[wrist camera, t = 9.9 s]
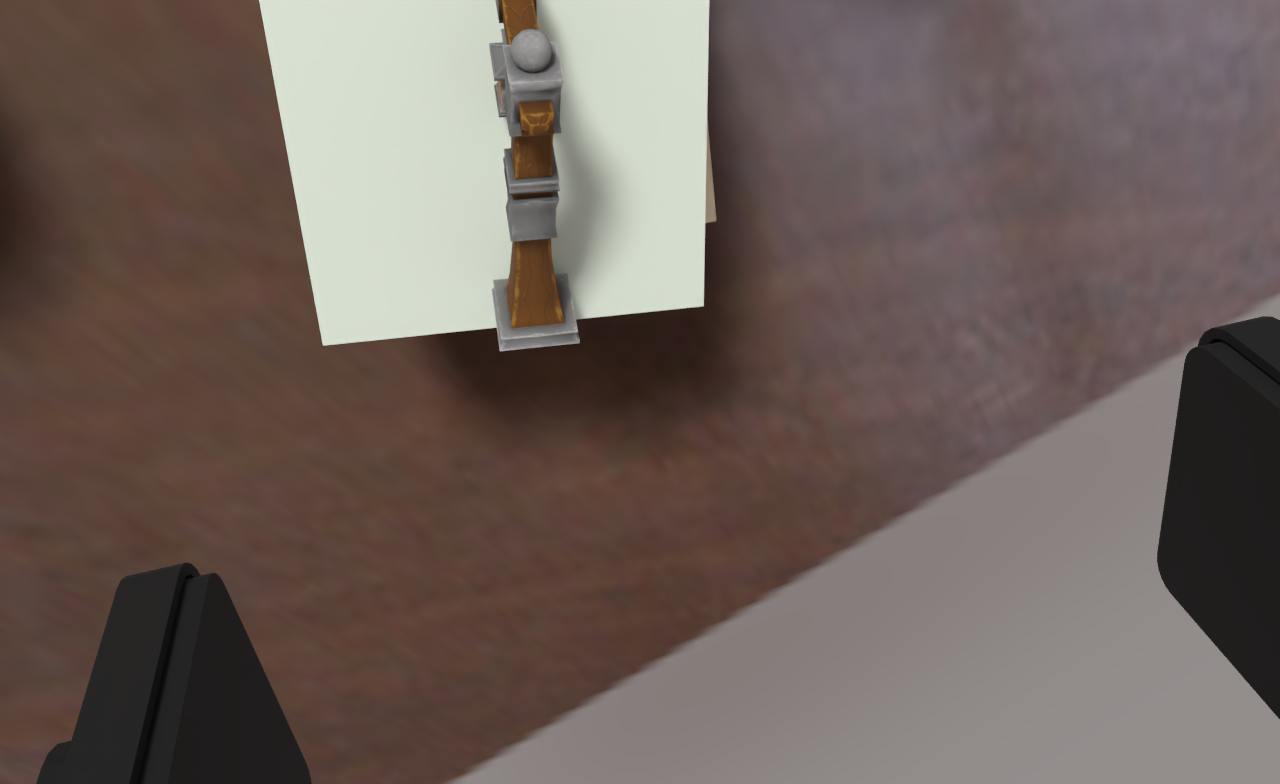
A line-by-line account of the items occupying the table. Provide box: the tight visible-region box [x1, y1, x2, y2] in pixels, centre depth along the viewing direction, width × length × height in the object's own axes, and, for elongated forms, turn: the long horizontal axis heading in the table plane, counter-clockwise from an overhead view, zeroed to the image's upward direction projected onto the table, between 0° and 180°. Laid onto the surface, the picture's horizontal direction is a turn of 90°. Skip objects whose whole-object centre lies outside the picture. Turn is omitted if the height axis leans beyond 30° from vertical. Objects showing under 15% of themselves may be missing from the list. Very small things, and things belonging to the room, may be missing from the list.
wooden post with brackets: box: [489, 0, 580, 351], centre depth 23 cm, size 2×8×4 cm, turn 1°
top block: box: [259, 0, 709, 346], centre depth 27 cm, size 9×9×5 cm
